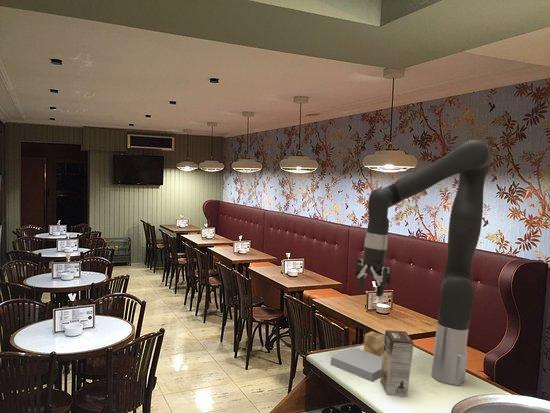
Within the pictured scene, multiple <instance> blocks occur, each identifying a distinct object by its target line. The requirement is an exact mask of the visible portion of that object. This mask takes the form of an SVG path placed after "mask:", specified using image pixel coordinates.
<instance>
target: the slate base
mask: <svg viewBox="0 0 550 413" xmlns="http://www.w3.org/2000/svg"><path fill="white" fill-rule="evenodd" d="M330 358H331V359H330V366H333V367H336V368H338V369H340V368H341V369H340V370H343V371H346V372H347V373H351V374H353V375H355V376H358V377H361V378H362V379H365V380H368V381H370V382H374V381H376V380H377V379H378V378H381V368H382V359H383V356H377V355H374V354H372V353H369V352H366V351H364V349H361V348H357V347H355V346H353V347H350V348H348V349H346V350H344V351H342V352H339V353H338V354H335V355H333V356H331V357H330Z"/></svg>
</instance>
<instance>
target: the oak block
mask: <svg viewBox="0 0 550 413" xmlns="http://www.w3.org/2000/svg"><path fill="white" fill-rule="evenodd" d="M384 341H385V334H382V333H379V332H375V331H370V332H367V333H365V335H364V342H363V344H364V345H363V351H366V352H369V353H372V354H374V355H377V356H380V357H382V356H383V350H384ZM381 355H382V356H381Z"/></svg>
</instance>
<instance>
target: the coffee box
mask: <svg viewBox="0 0 550 413" xmlns="http://www.w3.org/2000/svg"><path fill="white" fill-rule="evenodd" d="M384 335H385V340H384V349H383V355H382V357H383V359H382V368H381V376H380V377H379V378H380V379H379V381H380V383H381V385H382V388H383V389H384V392H385V394H386V395H387V396H399V397H408V392H409V385H410V376H411V368H412V362H413V361H412V360H413V359H412V358H413V352H414V344H415V343H414V341H413V340H412V338H411V337H410V335H409V334H408V332H407V331H403V330H402V331H401V330H390V329H385V332H384Z"/></svg>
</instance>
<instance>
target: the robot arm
mask: <svg viewBox="0 0 550 413" xmlns="http://www.w3.org/2000/svg"><path fill="white" fill-rule="evenodd" d="M491 155H492V154H491V150H490V148H489V146H488V145H487V144H486V143H485V142H483V141H481V140H478V139H470V140H467V141H465V142H463V143H462V144H460V145H459V146H458V147H456V148H455V149H453V150H452V151H450V152H449V153H448V154H446V155H444V156H443V157H440V158H439V159H438V160H435V161H434V162H432V163H430V164H428V165H425V166H423V167H421V168H419V169H417V170H415V171H413V172H411V173H407V175H404V176H403V177H400V178H399V179H397V180H396V181H395V182H394V183H392V184H390V185H389V184H388V185H387V186H385V187H382V188H381V187H380V188H375V189H373V190H372V191H371V192H370V193H369V197H368V203H367V210H368V212H367V213H368V214H367V215H368V222H367V229H366V235H365V238H364V247H363V253H362V258H357V259H356V260H355V265H354V266H355V268H354V276H357V278H358V280H357V289H359V290H364V289H365V288H364V287H365V283H366V282H365V281H366V279H365V278H366V277H367V276H370V277H372V278H374V280H375V281H376V283H377V285H376V293H375V294H376V295H375V296H377V297H382V296H383V295H384V289H385V286H389V285H390V283H391V273H392V272H391V271H392V268H391V267H390V266H389V267H386V266H385V265H384V263H385V261H386V256H387V250H388V238H389V237H388V236H389V228H390V219H389V218H388V215H389V214H388V212H389V208H391V207H394V206H395V205H397V204H399V203H401V202H402V201H405V200H406V199H409V198H412V197H414V196H416V195H418V194H420V193H422V192H424V191H426V190H428V189H430V188H432V187H433V186H435V185H437V184H438V183H440V182H442V181H444V180H446V179H448V178H449V177H451V176H455V175H458V174H459V179H458V180H459V181H458V187H457V191H456V193H455V197H454V199H453V203H452V207H451V211H450V215H449V221H448V235H447V258H446V264H445V269H444V273H443V276H442V279H441V280H442V281H441V283H440V284H441V285H440V290H441V295H440V301H439V302H440V303H439V304H440V305H439V309H438V310H439V311H438V315H437V321H436V322H437V323H436V331H435V340H434V348H433V358H432V364H431V365H432V366H431V373H430V374H431V376H432V378H434V380H436V381H437V382H438V381H439V382H441V383H443V384H448V385H455V386H457V387H458V386H460V385H461V384H462V383H463V382H464V381H465V379H466V371H467V360H468V353H469V352H468V350H467V346H468V345H467V344H468V343H467V342H468V337H469V330H470V329H469V328H470V323H471V320H472V313H473V307H474V299H475V298H474V297H475V296H474V295H475V289H474V286H473V285H472V264H473V263H472V262H473V258H474V255H475V251H476V249H477V246H478V242H479V240H480V236H481V230H482V222H483V211H484V187H485V182H486V177H487V172H488V168H489V166H490V161H491V157H492V156H491Z"/></svg>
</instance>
